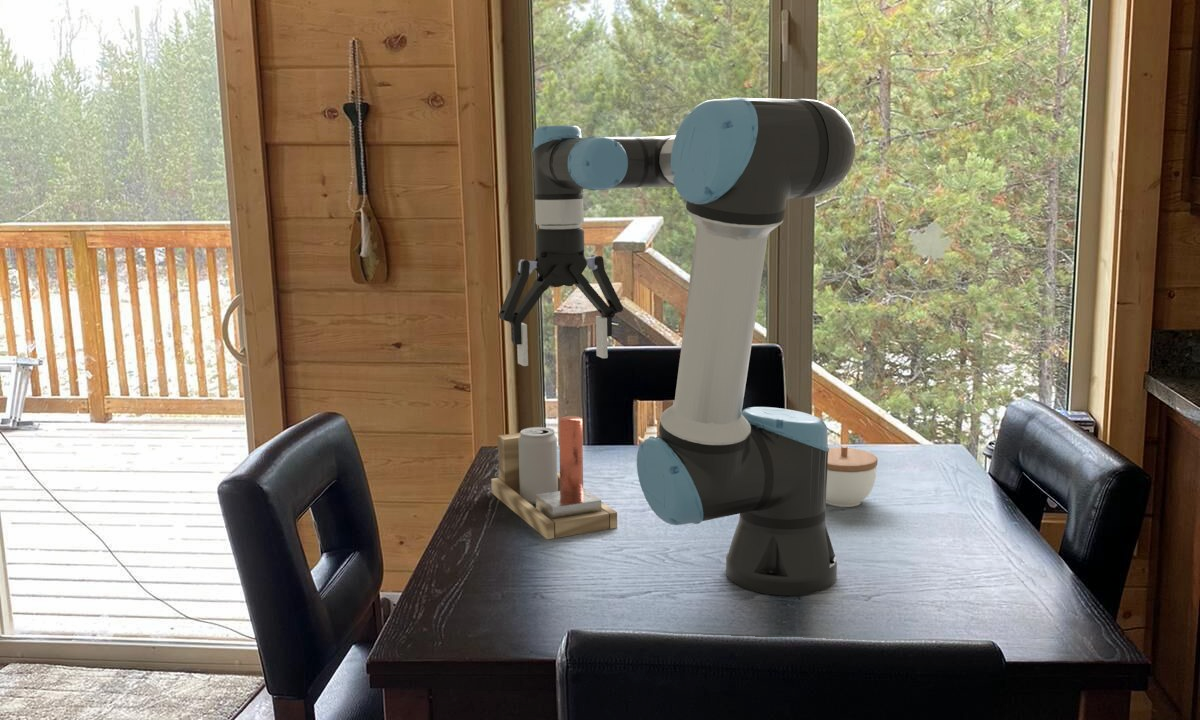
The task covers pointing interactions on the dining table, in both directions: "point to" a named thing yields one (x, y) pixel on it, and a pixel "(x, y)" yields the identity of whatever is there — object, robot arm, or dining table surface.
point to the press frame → (510, 496)
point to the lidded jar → (849, 476)
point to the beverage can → (537, 462)
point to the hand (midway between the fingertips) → (563, 361)
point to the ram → (569, 476)
